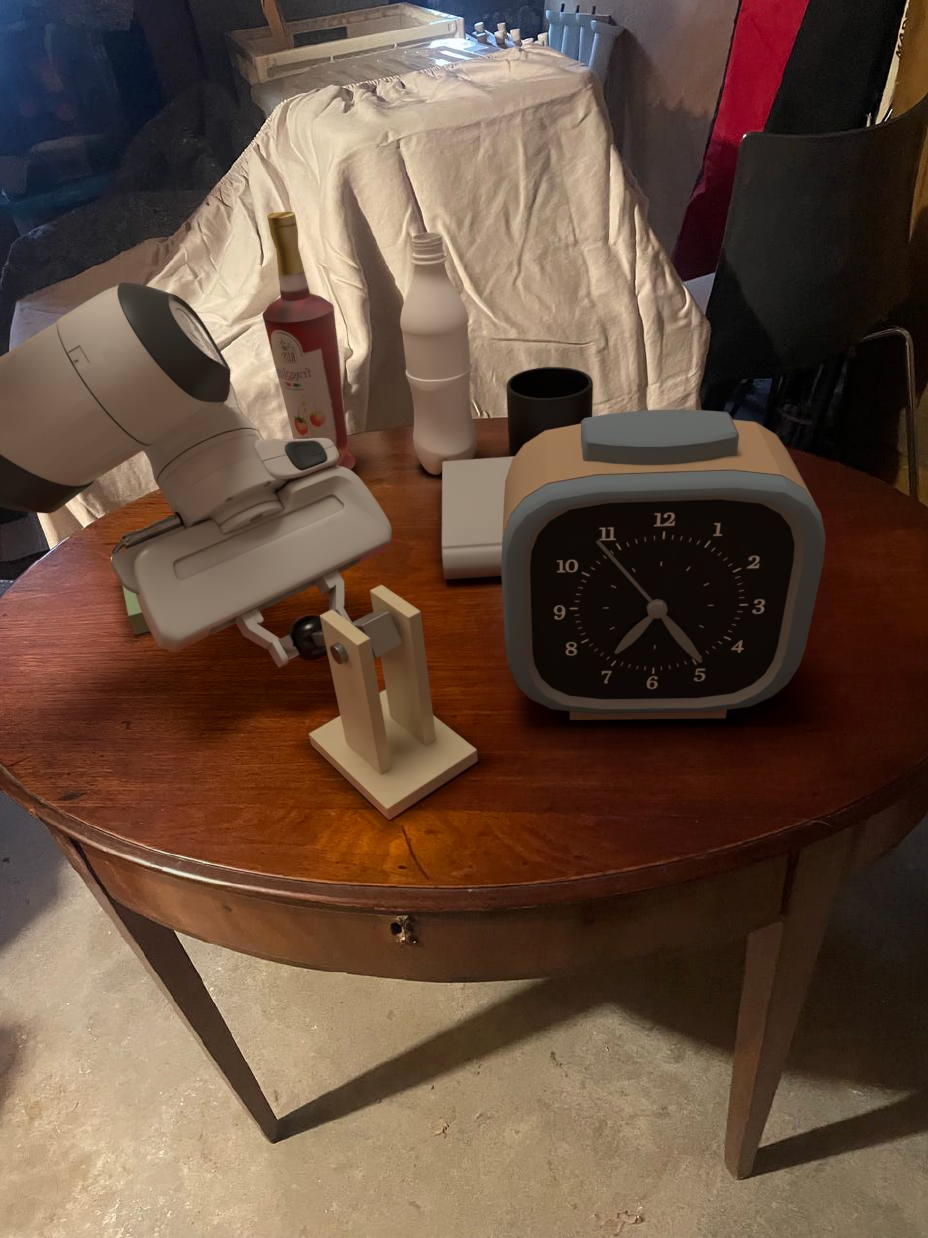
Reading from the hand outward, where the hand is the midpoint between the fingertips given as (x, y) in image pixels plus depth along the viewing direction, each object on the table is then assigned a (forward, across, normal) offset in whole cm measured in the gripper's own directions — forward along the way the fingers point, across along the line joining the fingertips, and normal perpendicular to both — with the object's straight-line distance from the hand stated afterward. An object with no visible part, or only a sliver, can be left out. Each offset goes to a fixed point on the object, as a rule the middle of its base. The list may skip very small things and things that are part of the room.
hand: (317, 647), depth 67 cm
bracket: (+10, 0, -3) cm, 10 cm away
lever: (+2, 0, -5) cm, 5 cm away
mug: (-9, +42, +16) cm, 46 cm away
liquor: (-20, +21, +27) cm, 39 cm away
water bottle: (-14, +32, +21) cm, 41 cm away
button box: (-12, -1, +19) cm, 22 cm away
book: (0, +31, +7) cm, 32 cm away
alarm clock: (+15, +18, -8) cm, 25 cm away
